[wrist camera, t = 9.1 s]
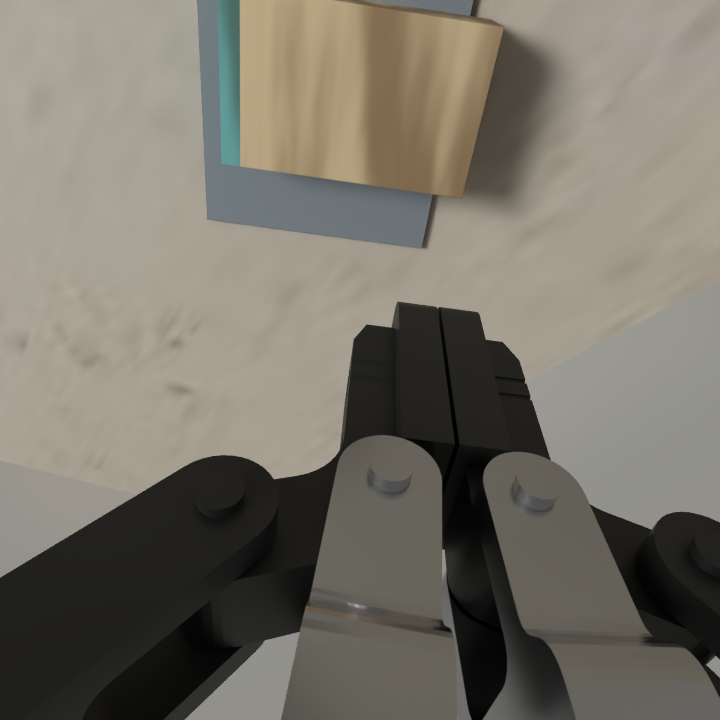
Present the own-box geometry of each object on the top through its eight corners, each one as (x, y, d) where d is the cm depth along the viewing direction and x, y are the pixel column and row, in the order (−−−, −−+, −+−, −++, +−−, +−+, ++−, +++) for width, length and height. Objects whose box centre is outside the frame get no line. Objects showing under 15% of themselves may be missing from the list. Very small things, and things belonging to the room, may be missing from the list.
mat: (495, -112, 25) (496, -112, 25) (421, 245, 36) (421, 248, 36) (192, -161, 25) (189, -162, 24) (208, 216, 35) (207, 219, 35)
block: (503, 27, 25) (217, -19, 24) (461, 198, 29) (221, 163, 29) (490, 19, 28) (237, -21, 27) (454, 174, 33) (238, 143, 32)
